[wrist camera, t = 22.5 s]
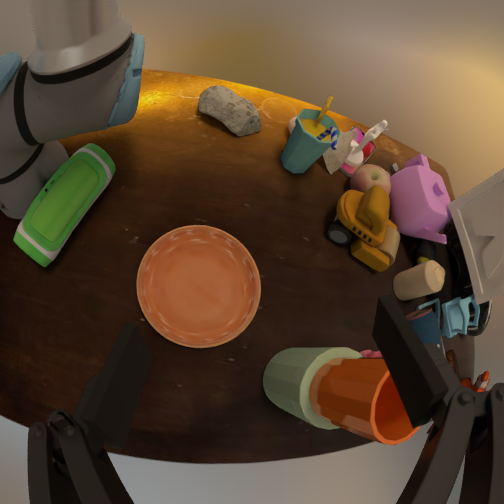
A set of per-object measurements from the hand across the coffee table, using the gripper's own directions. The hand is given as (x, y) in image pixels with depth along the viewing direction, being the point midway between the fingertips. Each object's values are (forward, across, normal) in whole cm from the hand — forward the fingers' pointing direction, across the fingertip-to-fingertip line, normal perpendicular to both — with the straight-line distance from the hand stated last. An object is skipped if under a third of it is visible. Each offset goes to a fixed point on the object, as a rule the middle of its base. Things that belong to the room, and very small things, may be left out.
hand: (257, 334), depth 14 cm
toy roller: (+33, +17, -10) cm, 38 cm away
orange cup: (+6, +7, -15) cm, 18 cm away
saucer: (+20, -9, -9) cm, 24 cm away
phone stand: (+25, +32, -28) cm, 49 cm away
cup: (+39, +8, +2) cm, 40 cm away
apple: (+39, +21, -6) cm, 45 cm away
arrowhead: (+40, +18, +9) cm, 45 cm away
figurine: (+45, +20, +3) cm, 50 cm away
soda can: (+15, +29, -31) cm, 45 cm away
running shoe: (+30, +45, -20) cm, 57 cm away
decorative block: (+27, +44, -15) cm, 54 cm away
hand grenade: (+36, +36, -14) cm, 53 cm away
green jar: (+14, +3, -23) cm, 27 cm away
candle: (+29, +26, -20) cm, 43 cm away
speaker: (+20, -28, +9) cm, 35 cm away
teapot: (+40, +30, -10) cm, 51 cm away
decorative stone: (+44, -3, +13) cm, 46 cm away
